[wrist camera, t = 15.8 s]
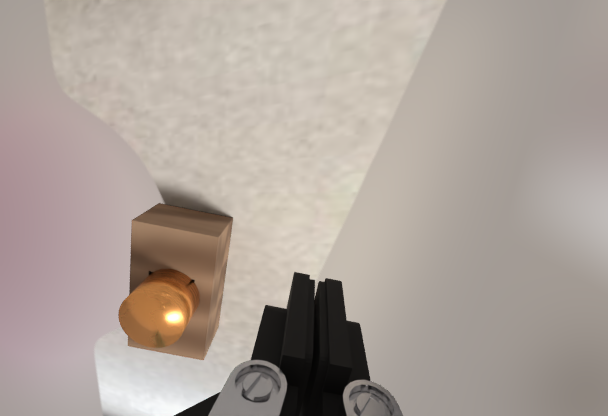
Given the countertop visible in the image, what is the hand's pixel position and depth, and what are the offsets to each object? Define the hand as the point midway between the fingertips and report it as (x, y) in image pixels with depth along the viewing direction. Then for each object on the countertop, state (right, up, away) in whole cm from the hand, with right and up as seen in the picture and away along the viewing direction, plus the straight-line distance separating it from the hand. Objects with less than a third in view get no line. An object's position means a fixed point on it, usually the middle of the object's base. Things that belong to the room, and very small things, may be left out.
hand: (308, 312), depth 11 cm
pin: (-15, -4, +30) cm, 34 cm away
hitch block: (-15, -4, +30) cm, 34 cm away
